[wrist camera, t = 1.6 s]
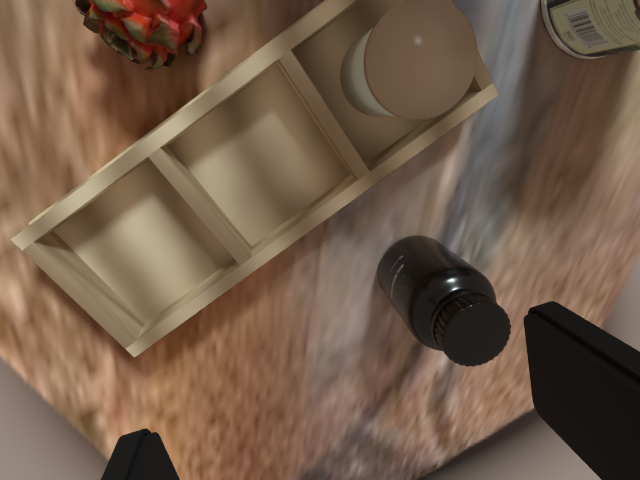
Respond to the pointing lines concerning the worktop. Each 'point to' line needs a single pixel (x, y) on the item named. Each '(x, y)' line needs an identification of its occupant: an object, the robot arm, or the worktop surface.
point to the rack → (230, 180)
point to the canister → (411, 61)
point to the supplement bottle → (444, 300)
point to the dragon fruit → (146, 27)
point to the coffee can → (593, 26)
